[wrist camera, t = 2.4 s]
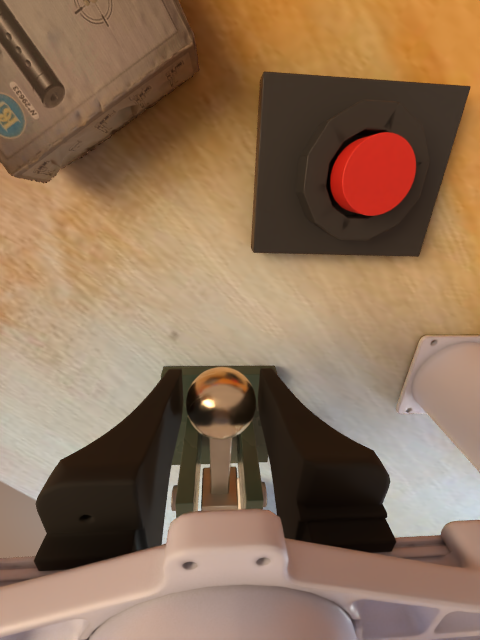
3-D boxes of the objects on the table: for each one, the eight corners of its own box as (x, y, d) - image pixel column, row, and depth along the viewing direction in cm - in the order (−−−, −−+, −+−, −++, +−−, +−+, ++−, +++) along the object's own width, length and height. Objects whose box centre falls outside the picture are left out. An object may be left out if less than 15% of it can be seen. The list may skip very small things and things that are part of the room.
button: (404, 139, 15) (426, 134, 13) (386, 213, 16) (404, 217, 15) (336, 135, 15) (350, 130, 13) (324, 211, 16) (336, 214, 15)
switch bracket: (163, 366, 23) (132, 471, 15) (274, 365, 24) (305, 465, 16) (171, 454, 28) (150, 574, 19) (265, 451, 28) (285, 566, 20)
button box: (452, 93, 17) (501, 74, 14) (406, 252, 20) (437, 263, 18) (260, 79, 16) (269, 57, 13) (250, 248, 20) (256, 259, 17)
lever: (187, 352, 14) (179, 410, 11) (255, 352, 14) (263, 408, 11) (197, 481, 21) (194, 534, 18) (241, 480, 21) (244, 532, 19)
